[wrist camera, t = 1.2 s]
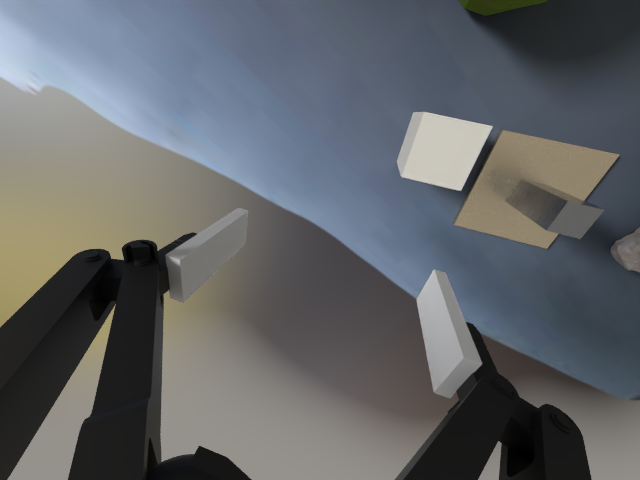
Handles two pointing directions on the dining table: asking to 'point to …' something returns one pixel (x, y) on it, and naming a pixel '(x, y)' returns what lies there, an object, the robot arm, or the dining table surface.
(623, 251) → the stone
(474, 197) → the square base with post
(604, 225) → the dining table surface
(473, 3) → the green apple
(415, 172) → the cream cuboid
